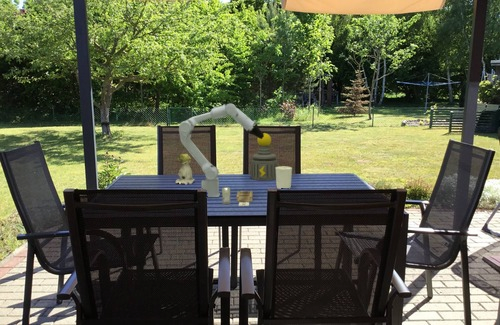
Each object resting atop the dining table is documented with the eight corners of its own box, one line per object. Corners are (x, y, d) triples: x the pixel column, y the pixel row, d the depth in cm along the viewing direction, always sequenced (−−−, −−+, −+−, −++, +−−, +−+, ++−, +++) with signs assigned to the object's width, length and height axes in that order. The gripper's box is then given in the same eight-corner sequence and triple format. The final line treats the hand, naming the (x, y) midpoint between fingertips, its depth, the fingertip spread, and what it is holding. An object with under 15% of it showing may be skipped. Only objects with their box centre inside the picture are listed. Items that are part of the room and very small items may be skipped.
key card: (238, 205, 205) (238, 205, 205) (239, 202, 211) (239, 202, 211) (248, 205, 205) (248, 205, 205) (249, 202, 211) (249, 202, 211)
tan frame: (236, 201, 213) (236, 197, 213) (238, 195, 227) (237, 191, 227) (252, 201, 213) (252, 197, 213) (252, 195, 227) (252, 191, 226)
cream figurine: (194, 180, 272) (193, 152, 269) (195, 184, 259) (194, 154, 256) (175, 180, 270) (174, 152, 267) (175, 184, 257) (174, 155, 255)
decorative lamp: (277, 181, 265) (277, 134, 261) (248, 180, 268) (247, 134, 264) (280, 175, 284) (280, 132, 279) (252, 175, 287) (252, 131, 282)
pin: (222, 204, 208) (221, 188, 207) (222, 202, 212) (222, 187, 211) (230, 204, 208) (229, 188, 207) (230, 202, 212) (230, 187, 211)
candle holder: (277, 185, 252) (277, 166, 250) (293, 186, 249) (293, 166, 248) (273, 189, 243) (273, 168, 241) (290, 189, 240) (290, 169, 238)
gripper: (247, 115, 213) (267, 132, 214) (248, 114, 227) (267, 130, 228) (238, 125, 214) (258, 142, 215) (240, 123, 228) (259, 139, 229)
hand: (262, 137), depth 222 cm, fingers open, 7 cm apart
